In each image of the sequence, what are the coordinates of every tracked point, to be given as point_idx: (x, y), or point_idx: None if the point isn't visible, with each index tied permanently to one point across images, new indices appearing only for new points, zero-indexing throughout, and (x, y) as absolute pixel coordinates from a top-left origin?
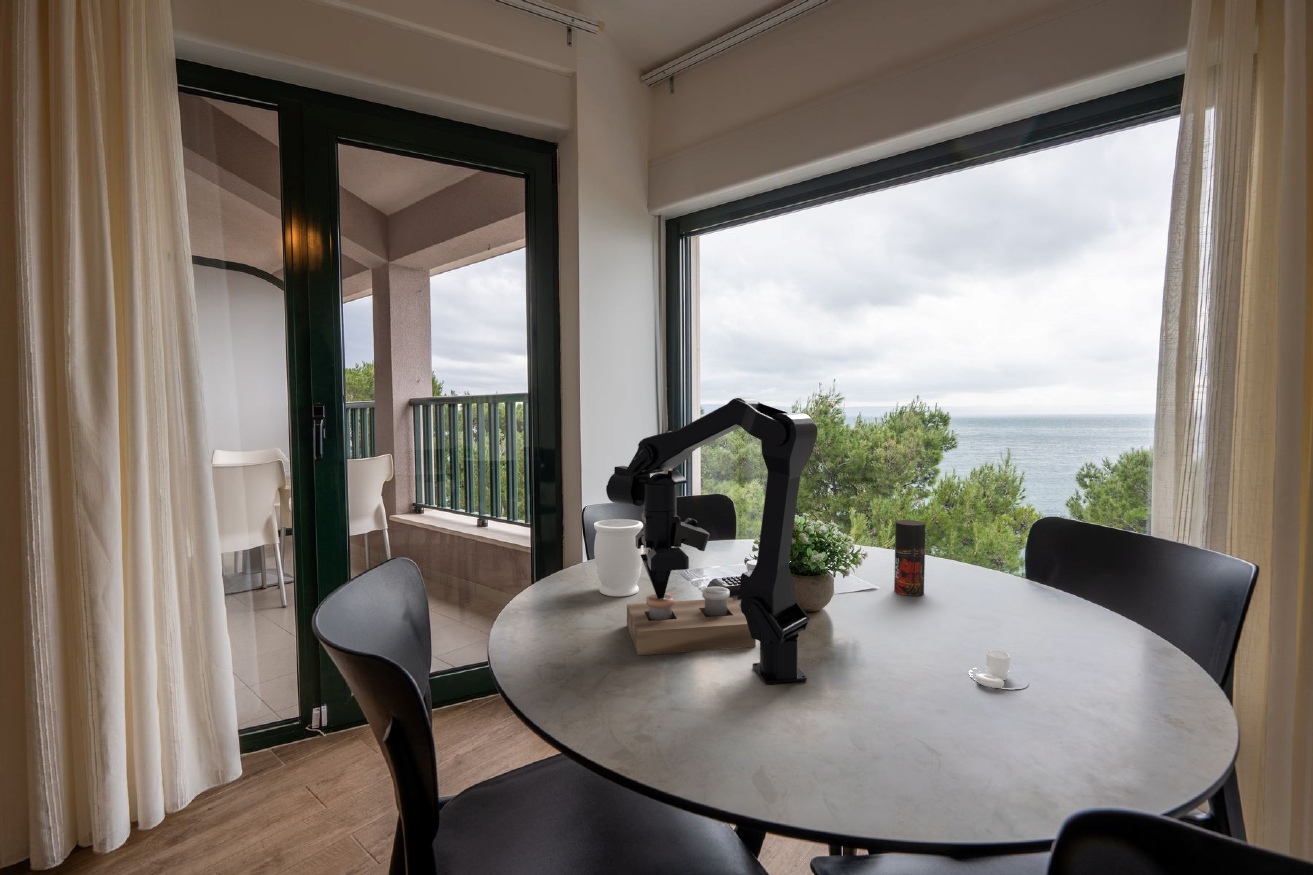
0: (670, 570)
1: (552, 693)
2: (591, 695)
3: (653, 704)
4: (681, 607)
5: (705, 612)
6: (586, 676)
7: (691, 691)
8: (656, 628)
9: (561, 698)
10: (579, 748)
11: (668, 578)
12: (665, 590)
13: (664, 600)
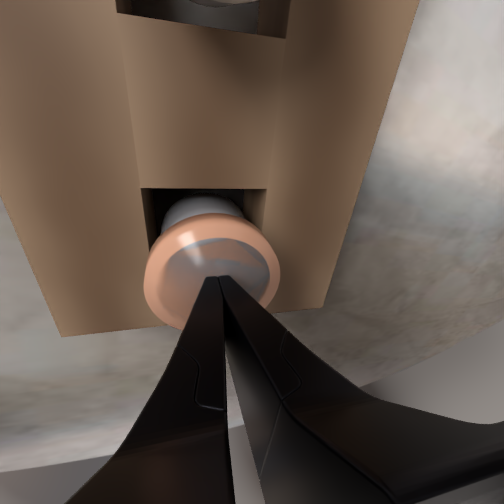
0: (370, 401)
1: (367, 362)
2: (397, 327)
3: (471, 258)
4: (105, 129)
5: (219, 5)
6: (341, 337)
7: (484, 194)
8: (323, 265)
9: (384, 353)
10: (484, 327)
11: (303, 345)
12: (249, 295)
13: (262, 273)
